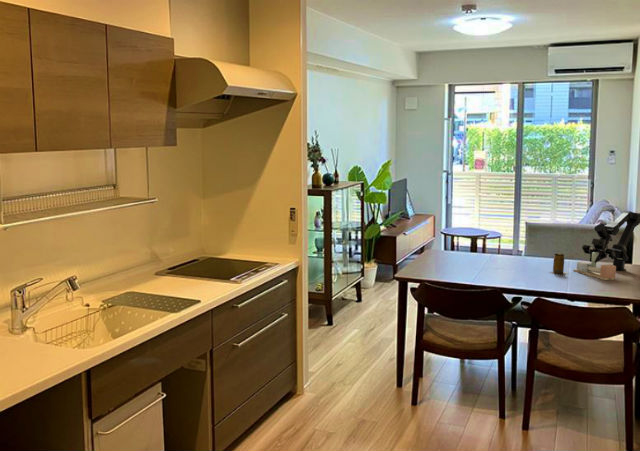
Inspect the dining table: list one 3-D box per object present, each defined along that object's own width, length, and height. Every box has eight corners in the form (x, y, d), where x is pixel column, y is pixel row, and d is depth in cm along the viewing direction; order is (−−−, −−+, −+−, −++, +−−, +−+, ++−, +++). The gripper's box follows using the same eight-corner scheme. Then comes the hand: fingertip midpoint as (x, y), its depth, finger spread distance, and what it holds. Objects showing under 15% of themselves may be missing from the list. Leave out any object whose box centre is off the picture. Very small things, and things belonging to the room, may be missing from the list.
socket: (609, 275, 374) (610, 264, 373) (615, 277, 369) (616, 266, 368) (600, 276, 371) (601, 265, 370) (606, 278, 367) (607, 266, 366)
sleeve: (582, 269, 391) (583, 261, 390) (592, 271, 384) (593, 263, 383) (576, 269, 389) (577, 261, 388) (586, 272, 382) (587, 264, 381)
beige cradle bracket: (583, 268, 389) (585, 250, 387) (603, 273, 375) (604, 254, 373) (579, 268, 388) (581, 250, 386) (598, 274, 374) (600, 254, 372)
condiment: (556, 271, 389) (557, 252, 387) (568, 273, 383) (570, 254, 381) (549, 272, 385) (551, 253, 383) (562, 275, 378) (564, 255, 376)
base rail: (581, 270, 393) (582, 268, 393) (614, 279, 370) (615, 277, 369) (573, 270, 390) (573, 269, 390) (605, 280, 367) (606, 278, 367)
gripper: (584, 231, 386) (573, 251, 381) (614, 235, 372) (603, 256, 367) (590, 242, 392) (579, 262, 387) (620, 247, 378) (609, 267, 373)
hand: (592, 262), depth 378 cm, fingers closed on beige cradle bracket, 3 cm apart
